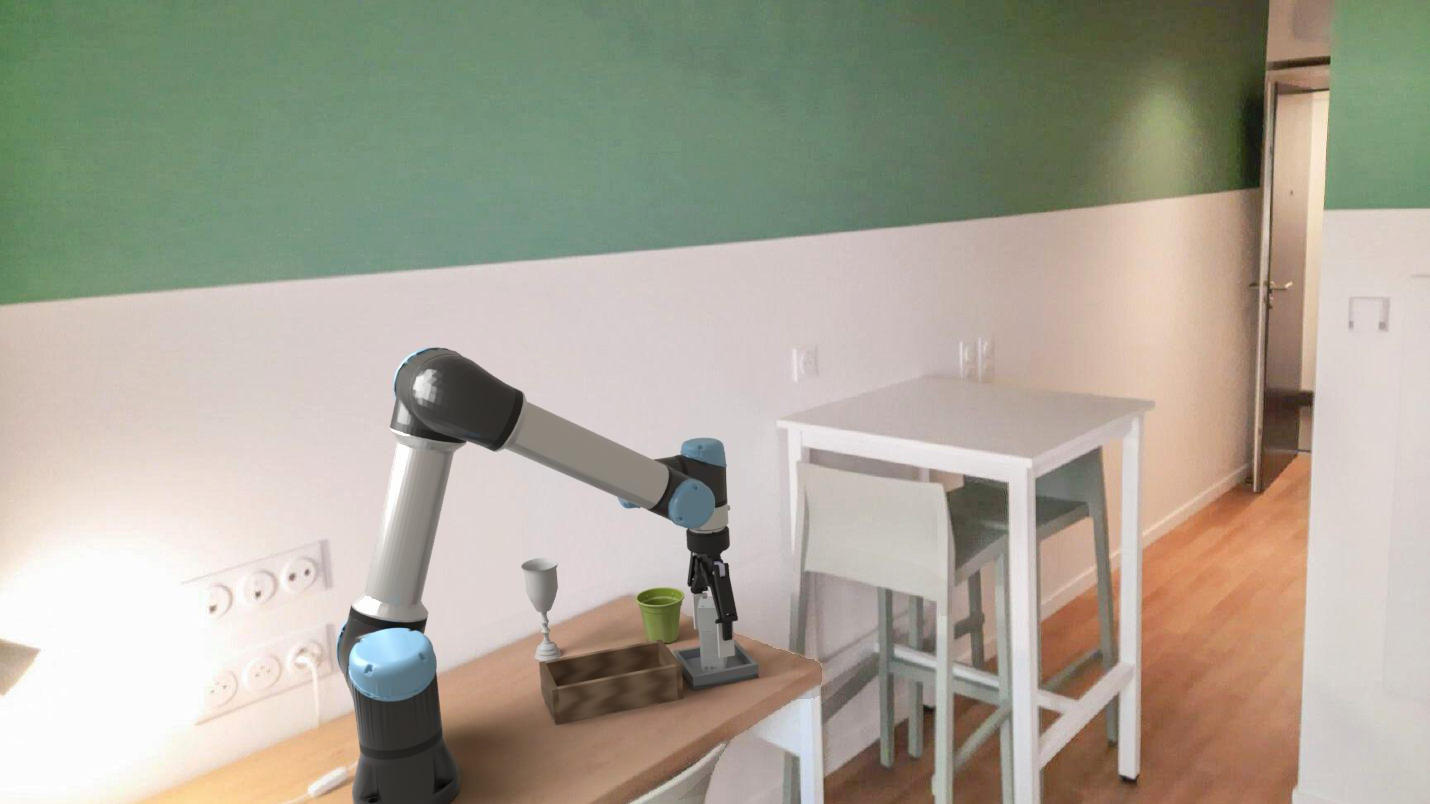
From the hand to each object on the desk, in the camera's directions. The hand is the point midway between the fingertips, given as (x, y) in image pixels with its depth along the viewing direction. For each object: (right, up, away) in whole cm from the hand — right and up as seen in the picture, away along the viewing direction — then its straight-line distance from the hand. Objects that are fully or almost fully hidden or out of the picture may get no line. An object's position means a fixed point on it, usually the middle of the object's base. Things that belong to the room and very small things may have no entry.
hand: (713, 641), depth 193 cm
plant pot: (-10, -3, +16) cm, 19 cm away
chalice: (-31, -5, +11) cm, 34 cm away
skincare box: (0, -5, +1) cm, 5 cm away
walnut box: (-17, -8, -7) cm, 20 cm away
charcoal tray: (0, -5, +1) cm, 6 cm away
